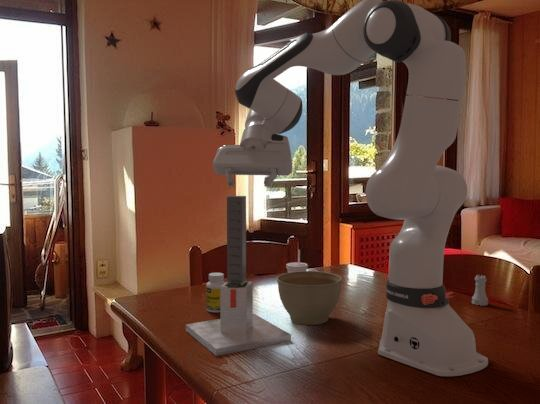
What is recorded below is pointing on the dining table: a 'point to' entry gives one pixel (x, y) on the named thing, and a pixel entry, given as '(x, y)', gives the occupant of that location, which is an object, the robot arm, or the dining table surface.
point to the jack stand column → (236, 240)
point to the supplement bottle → (214, 292)
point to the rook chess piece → (480, 291)
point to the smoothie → (296, 265)
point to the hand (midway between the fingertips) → (248, 184)
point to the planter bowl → (309, 295)
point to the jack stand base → (236, 324)
